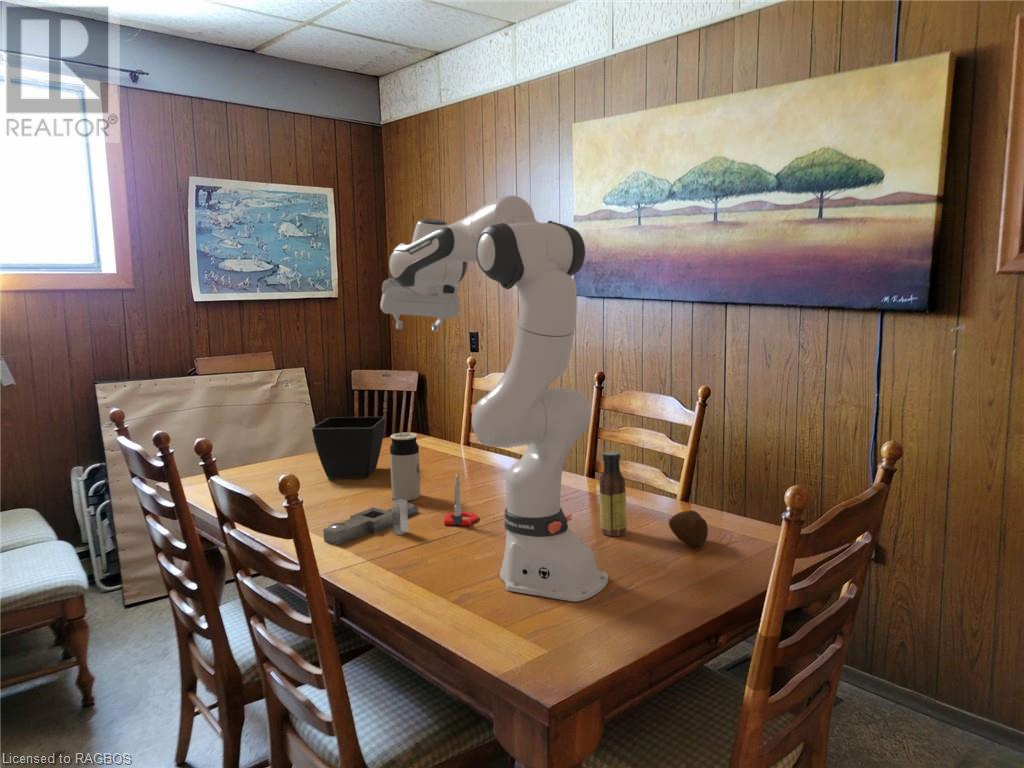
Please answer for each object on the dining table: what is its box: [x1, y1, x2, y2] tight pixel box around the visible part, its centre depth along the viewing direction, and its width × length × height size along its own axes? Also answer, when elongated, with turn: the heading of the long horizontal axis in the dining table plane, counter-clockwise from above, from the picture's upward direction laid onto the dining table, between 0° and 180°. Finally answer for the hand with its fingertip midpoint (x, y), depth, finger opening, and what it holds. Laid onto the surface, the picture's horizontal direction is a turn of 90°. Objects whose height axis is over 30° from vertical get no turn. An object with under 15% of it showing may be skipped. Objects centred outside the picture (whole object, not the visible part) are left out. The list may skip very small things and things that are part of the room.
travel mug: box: [389, 432, 421, 502], centre depth 203 cm, size 8×8×18 cm
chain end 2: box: [369, 501, 419, 534], centre depth 186 cm, size 8×18×2 cm, turn 146°
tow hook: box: [443, 474, 479, 527], centre depth 184 cm, size 8×13×9 cm
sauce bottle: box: [599, 450, 628, 537], centre depth 173 cm, size 7×6×20 cm
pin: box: [391, 499, 409, 536], centre depth 176 cm, size 3×3×8 cm
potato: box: [668, 510, 709, 547], centre depth 166 cm, size 7×10×8 cm
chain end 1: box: [322, 507, 392, 546], centre depth 177 cm, size 8×18×4 cm, turn 146°
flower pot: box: [311, 416, 386, 479], centre depth 229 cm, size 19×19×17 cm
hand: (416, 329), depth 190 cm, fingers open, 8 cm apart
